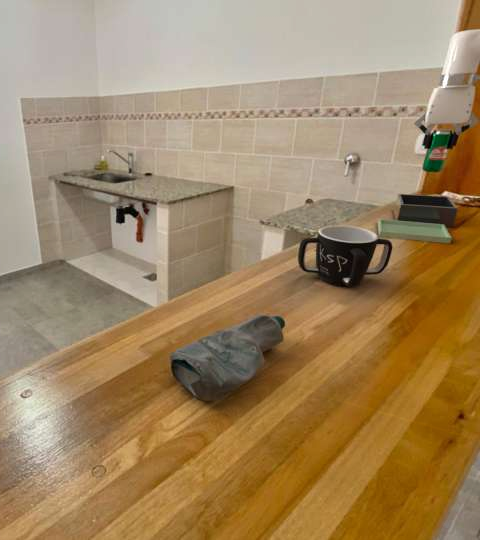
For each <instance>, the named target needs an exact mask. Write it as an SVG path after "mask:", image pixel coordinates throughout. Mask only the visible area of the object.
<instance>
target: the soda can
mask: <svg viewBox="0 0 480 540" xmlns="http://www.w3.org/2000/svg"><path fill="white" fill-rule="evenodd" d="M453 133H454V132H453V129H451V128H450V129H449V128H436V129H433V130H432V131H431V139H430V143H429V147H428V149H426V151H425V156H424V159H423V163H422V167H421V169H422V172H426V173H439V172H441V171H443V170H444V167H445V163H446V160H447V156H448V152H449V150H450V149H449V146H450V142H451V139H452V135H453Z"/></svg>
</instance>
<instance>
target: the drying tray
mask: <svg viewBox="0 0 480 540" xmlns="http://www.w3.org/2000/svg"><path fill="white" fill-rule="evenodd" d="M377 228H378V229H377V230H378V237H382V238H383V237H384V238H394V239H401V240H402V239H403V240H411V241H422V242H431V243H441V244H451V242H452V236H451V234H450V232H449V230H448V229H447V228H448V227H445V225H444V224H432V223H420V222H408V221H396V219H382V218H379V219H378V222H377Z"/></svg>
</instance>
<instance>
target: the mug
mask: <svg viewBox="0 0 480 540" xmlns="http://www.w3.org/2000/svg"><path fill="white" fill-rule="evenodd" d="M308 244H315V266H309V265H307V264H306V253H307V247H308ZM377 245H383V249H382V253H381V257H380V260H379V262H378V263H377V265H375V267H371V268H370V265H371V262H372V260H373V257H374V255H375V252H376V249H377ZM393 249H394V247H393V243H392V242H391V240H389V239H386V238H379V234H377V233H375V231H372V230H369V229H367V228H362V227H358V226H352V225H327V226H323V227H321V228H320V229H318V231H317V236H316V237H304V238H303V239H302V240H301V241H300V243H299V248H298V252H297V253H298V254H297V262H298V265H299V268H300V269H301V271H303V272H305V273H310V274H311V273H312V274H316V275H317V276H318V278H319V279H320V281H322V282H324V283H326V284H329V285H333V286H336V287H349V288H356V287H358V286H359V285H360V283H361V282H362V280H363V279H364V277H365V276H366V275H369V276H372V275H379V274H381V273H383V271H385V269H386V268H387V266H388V264H389V262H390V259H391V257H392V252H393Z"/></svg>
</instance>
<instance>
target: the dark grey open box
mask: <svg viewBox="0 0 480 540" xmlns="http://www.w3.org/2000/svg"><path fill="white" fill-rule="evenodd" d="M458 210H459V208H458V206H457V205H456V203H455V202H454V201H453V199H452V198H451V197H450V196H444V195H427V194H411V193H409V194H407V193H406V194H405V193H397V195H396V200H395V204H394V208H393V215H394V220H396V221H408V222H420V223H432V224H444V225H445V227H446V228H450V229H452V228H453V226H454V223H455V220H456V216H457V213H458Z"/></svg>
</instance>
